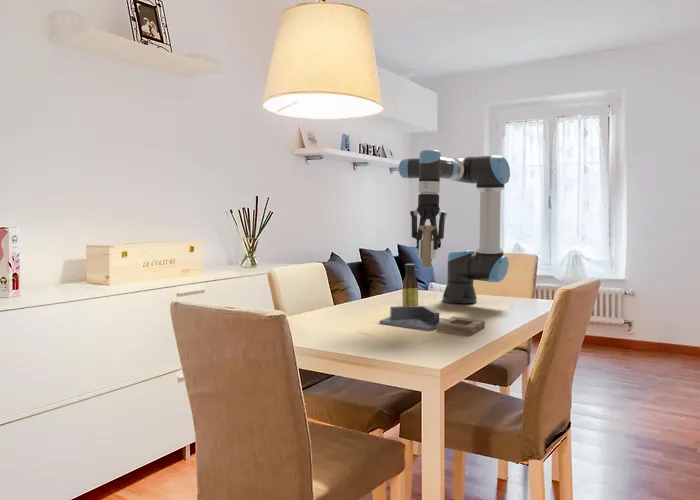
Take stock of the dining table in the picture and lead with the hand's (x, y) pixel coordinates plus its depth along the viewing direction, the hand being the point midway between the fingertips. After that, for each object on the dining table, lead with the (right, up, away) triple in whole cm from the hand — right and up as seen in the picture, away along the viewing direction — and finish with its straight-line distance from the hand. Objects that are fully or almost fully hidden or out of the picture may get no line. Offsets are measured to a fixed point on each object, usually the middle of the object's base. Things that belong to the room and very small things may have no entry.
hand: (426, 258), depth 208 cm
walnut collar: (+12, -25, -5) cm, 28 cm away
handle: (0, -3, 0) cm, 3 cm away
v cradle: (-4, -24, +5) cm, 25 cm away
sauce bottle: (-4, -23, +22) cm, 32 cm away
